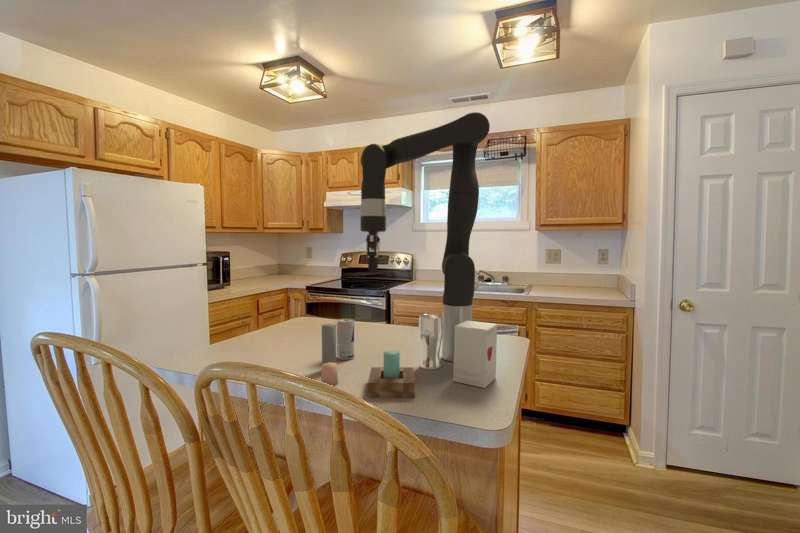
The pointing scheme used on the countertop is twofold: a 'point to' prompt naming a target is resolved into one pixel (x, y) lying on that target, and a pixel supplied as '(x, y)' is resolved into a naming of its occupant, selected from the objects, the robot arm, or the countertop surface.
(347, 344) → the energy drink
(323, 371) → the short dowel
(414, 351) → the countertop surface
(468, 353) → the supplement box
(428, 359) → the beer glass
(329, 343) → the long dowel
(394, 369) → the medium dowel
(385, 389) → the brown wooden square frame
